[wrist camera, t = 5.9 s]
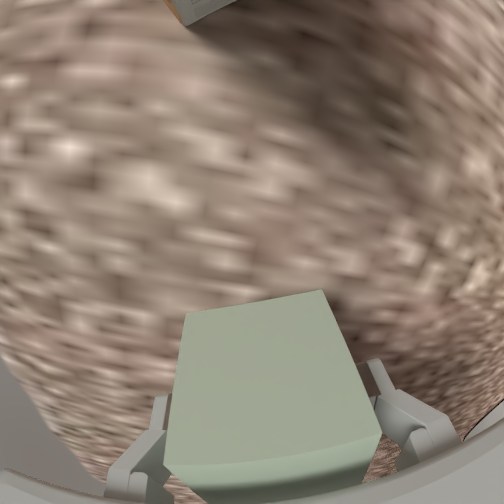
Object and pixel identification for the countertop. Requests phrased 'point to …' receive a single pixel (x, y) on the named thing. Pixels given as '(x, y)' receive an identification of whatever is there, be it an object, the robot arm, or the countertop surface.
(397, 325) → the countertop surface
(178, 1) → the small box
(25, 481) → the robot arm
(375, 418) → the block
